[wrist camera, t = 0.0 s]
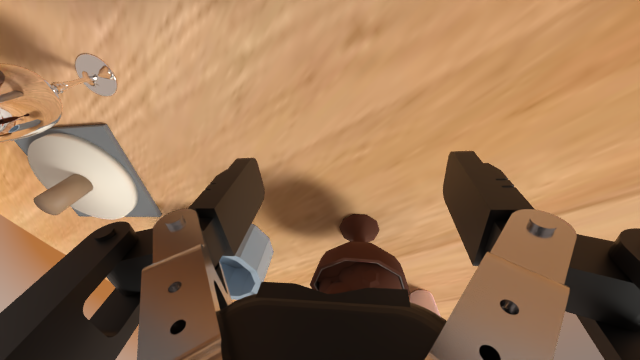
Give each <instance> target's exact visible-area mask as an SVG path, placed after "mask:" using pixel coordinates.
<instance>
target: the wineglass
mask: <svg viewBox="0 0 640 360" xmlns="http://www.w3.org/2000/svg"><path fill="white" fill-rule="evenodd" d="M75 67H76V71H77V74H78V76H79V78H80V79H76V80H73V81H67V82H53V83H51V84H50V83H49V82H48V81H47V80H45V79H44V78H43V77H41V76H40V75H38V74H37V73H35V72H33V71H31V70H29V69H26V68H24V67H20V66H17V65H12V64H5V63H0V143H4V142H9V141H14V140H18V139H23V138H27V137H30V136H33V135H36V134H39V133H41V132H44V131H46V130H47V129H49V128H51V127H52V126H54V125H55V124H56V123H57V122H58V121H59V120H60V118H61V115H62V111H63V106H62V102H61V99H60V97H59V95H58V94H59V93H63V92H65V91H66V90H67V89H69V88H70V87H72V86H74V85H78V84H81V83H84V84H85V85H86V86H87V87H88V88H89V89H90V90H91V91H93V92H94V93H96V94H98V95H101V96H112V95H114V94H115V93H116V91H117V80H116V77H115V75H114V73H113V72H112V70H111V69H110V67H109V66H108V65H107V64H106V63H105V62H104V61H102V60H101V59H99V58H98V57H96V56H94V55H91V54H82V55H80V56H78V57H77V59H76V62H75Z"/></svg>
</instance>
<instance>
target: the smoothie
mask: <svg viewBox="0 0 640 360" xmlns="http://www.w3.org/2000/svg"><path fill="white" fill-rule="evenodd" d="M410 302H411V303H414V304H417V305H420V306H422V307H424V308H427V309H428V310H430V311H432V312H434V313H436V314H437V315H439V316H440V313H439V311H438V308H437V305H436V303H435V300H434V297H433V295H432V293H430V292H429V291H426V290H417V291H414V292H412V293H411V294H410ZM440 317H441V316H440Z"/></svg>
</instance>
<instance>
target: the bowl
mask: <svg viewBox="0 0 640 360" xmlns="http://www.w3.org/2000/svg"><path fill="white" fill-rule="evenodd" d="M272 255H273V248H272V245H271V242H270V239H269V238H268V237H267V236H266V235H265V234H264V233H263V232H262V231H261V230H260V229H259V228H258V227H256V226H255V225H253V224H251V225H250V227H249V229H248V231H247V233H246V235H245V237H244V239H243V241H242V243H241V245H240V247H239V248H238V250H237V252H236V254H235V256H222V257H221V259H220V261H219V262H220V264H221V266H222V269H223V273H224V276H225V279H226V283H227V286H228V290H229V293H230V296H231V299H235V300H239V299H241V298H244V297H246V296H249V295H253V294H257V292H258V290H259V287H260V284H261V282H263V281H264V278H265V276H266V273H267V270H268V267H269V264H270V261H271V258H272Z"/></svg>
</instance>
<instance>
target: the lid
mask: <svg viewBox="0 0 640 360" xmlns="http://www.w3.org/2000/svg"><path fill="white" fill-rule="evenodd" d="M27 154H28V161H29V164H30V166H31V169H32V170H33V172H34V174H35V175H36V177H37V178H38V179H39V181H40V182H41V183H42V184H43V185H44V186H45V187H46V188H47V189H48V190H46V191H45V192H43V193H41V194H40V195H38V196H37V197H35V198H34V203H35V204H36V205H37V207H38V208H40V209H41V210H42V211H44V212H46V213H48V214H51V215H58V214H60V213H61V212H62V211H64V210H65V209H67V208H68V207H69V206H70V207H72V208H74V209H76V210H78V211H80V212H82V213H85V214H87V215H90V216H93V217H97V218H101V219H119V218H122V217H124V216H126V215H127V214H128V213H130V212H131V211H132V210H133V209H134V208H135V206H136V205H137V202H138V191H137V187H136V185H135V183H134V181H133V179H132V177H131V176H130V174H129V173H128V172H127V170H126V169H125V168H124V167H123V166H122V165H121V164H120V163H119V162H118V161H117V160H116V159H115V158H114V157H113V156H112V155H110V154H109V153H108V152H106V151H105V150H104V149H102V148H100V147H99V146H97V145H96V144H94V143H92V142H90V141H88V140H86V139H83V138H81V137H78V136H75V135H71V134H65V133H52V134H48V135H45V136H43V137H41V138H38V139H36V140H35V141H33V142H32V143H31V144H30V146H29V148H28V152H27Z"/></svg>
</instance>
